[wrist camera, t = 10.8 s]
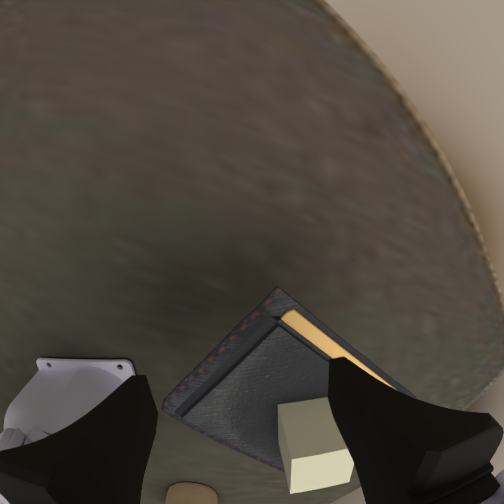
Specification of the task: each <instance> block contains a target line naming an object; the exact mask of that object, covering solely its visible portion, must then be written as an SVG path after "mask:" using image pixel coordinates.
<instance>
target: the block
mask: <svg viewBox="0 0 504 504" xmlns="http://www.w3.org/2000/svg"><path fill="white" fill-rule="evenodd" d="M278 442H279V447H280V451H281V456H282V460H283V465H284V469H285V473H286V478H287V482H288V486H289V491H290V494H292V493H298V492H304V491H309V490H315V489H320V488H325V487H329V486H334V485H338V484H342V483H346V482H349V480H350V477H351V473H352V469H353V466H354V462H353V460H352V457H351V455H350V453H349V451H348V449H347V446H346V444H345V442H344V440H343V438H342V436H341V434H340V431H339V429H338V427H337V425H336V423H335V420H334V418H333V415H332V412H331V408H330V405H329V401H328V397H325V398H319V399H313V400H306V401H300V402H293V403H285V404H278Z"/></svg>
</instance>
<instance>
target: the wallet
mask: <svg viewBox="0 0 504 504" xmlns="http://www.w3.org/2000/svg"><path fill="white" fill-rule="evenodd" d="M343 356H344V357H346V358H347V359H349V360H350V361H352V362H353V363H354V364H356V365H357V366H359V367H360V368H362V369H363V370H364V371H366V372H367V373H369V374H370V375H372V376H373V377H375V378H377V379H378V380H380V381H381V382H383V383H385V384H386V385H388V386H390V387H392V388H394V389H396V390H397V391H400V392H402V393H404V394H406V395H408V396H411V397H413V398H415V399H417V398H416V397H415V396H414V395H413V394H412V393H411V392H410V391H409V390H407V389H406V388H404V387H403V386H402V385H400V384H399V383H397V382H396V381H395V380H393V379H392V378H391V377H390V376H388V375H387V374H386V373H385V372H383V371H382V370H381V369H379V368H378V367H377V366H376V365H374V364H373V363H372V362H371V361H369V360H368V359H367V358H366V357H364V356H363V355H362V354H361V353H359V352H358V351H357V350H356V349H354V348H353V347H352V346H351V345H349V344H348V343H347V342H346V341H344V340H343V339H342V338H341V337H339V336H338V335H337V334H336V333H335V332H333V331H332V330H331V329H330V328H328V327H327V326H326V325H325V324H323V323H322V322H321V321H320V320H318V319H317V318H316V317H315V316H313V315H312V314H311V313H310V312H309V311H307V310H306V309H305V308H304V307H302V306H301V305H300V304H299V303H297V302H296V301H295V300H294V299H293V298H291V297H290V296H289V295H288V294H286V293H285V292H284V291H283V290H281V289H280V288H279V287H278V286H276V288H275V289H274V290H273V291H272V292H271V293H270V294H269V295H268V296H267V297H266V299H265V300H264V301H263V302H262V303H261V304H260V305H258V306H257V307H256V308H255V309H254V310H253V311H252V312H251V313H250V314H248V315H247V316H246V317H245V318H244V319H243V320H242V321H241V322H240V323H239V324H238V325H237V326H236V327H235V328H234V329H233V330H232V331H231V332H230V333H229V334H228V335H227V336H226V337H225V338H224V339H223V340H222V341H221V342H220V343H219V344H218V346H217V347H216V348H215V349H214V350H213V351H212V352H211V353H210V354H209V355H208V356H207V357H206V358H205V359H204V360H203V361H202V362H201V363H200V364H199V365H198V366H197V367H196V368H195V369H194V370H193V371H192V372H191V373H190V374H189V375H188V376H187V377H186V378H185V379H183V380H182V381H181V382H180V383H179V384H178V385H177V386H176V387H175V388H174V389H173V391H172V392H171V393H170V394H169V395H168V396H167V397H166V398H165V399H164V400H163V405H162V410H163V411H164V412H166V413H167V414H169V415H170V416H172V417H174V418H175V419H177V420H178V421H180V422H182V423H183V424H185V425H187V426H189V427H190V428H192V429H194V430H196V431H198V432H200V433H201V434H203V435H205V436H207V437H209V438H211V439H213V440H215V441H217V442H219V443H221V444H223V445H225V446H227V447H230V448H232V449H234V450H236V451H238V452H240V453H243V454H245V455H247V456H249V457H251V458H253V459H256V460H258V461H260V462H262V463H264V464H267V465H269V466H271V467H274V468H276V469H278V470H281V471H283V472H285V469H284V465H283V460H282V456H281V451H280V447H279V442H278V404H285V403H293V402H300V401H306V400H313V399H319V398H325V397H328V381H329V359H332V358H338V357H343Z"/></svg>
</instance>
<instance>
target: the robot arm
mask: <svg viewBox="0 0 504 504" xmlns="http://www.w3.org/2000/svg"><path fill="white" fill-rule="evenodd" d="M49 363H50V364H51V365H50V364H49ZM36 364H37V366H38V369H39V371H38V372H37V373H36V374H35V375H34V376H33V377H32V379H31V380H30V381H29V382H28V383H27V385H26V386H25V387H24V388H23V389H22V390H21V392H20V393H19V394H18V395H17V396H16V398H15V399H14V400H13V401H12V403H11V404H10V405H9V407H8V409H7V411H6V415H5V419H4V431H3V432H2V433H1V434H0V504H140V498H141V489H142V482H143V477H144V473H145V470H146V466H147V462H148V459H149V455H150V452H151V448H152V444H153V441H154V437H155V433H156V426H157V417H158V412H157V409H156V406H155V403H154V400H153V397H152V394H151V391H150V387H149V384H148V381H147V378H146V375H136V374H135V371H134V368H133V364H132V363H131V362H130V361H129V360H126V359H118V360H95V359H57V358H38V359H37V361H36ZM118 364H120V365H122V367H120V366H119V365H118ZM328 401H329V405H330V408H331V412H332V415H333V418H334V420H335V423H336V425H337V427H338V429H339V431H340V434H341V436H342V438H343V440H344V442H345V444H346V446H347V449H348V451H349V453H350V455H351V457H352V460H353V462H354V465H355V467H356V470H357V474H358V477H359V480H360V483H361V487H362V490H363V494H364V497H365V501H366V504H504V470H503V471H501V472H500V473H499V474H498V475H497V476H496V477H494V476H493V475H492V474H491V472H492V471H493V469H494V468H493V466H492V465H491V463H490V460H491V458H492V457H493V455H494V453H495V452H496V450H497V448H498V446H499V444H500V442H501V440H502V436H503V428H502V427H501V426H500V425H499V423H498V422H497V421H496V420H495V419H494V418H493V417H492V416H491V415H490V414H489V413H477V412H466V411H459V410H454V409H448V408H444V407H440V406H436V405H433V404H430V403H426V402H423V401H421V400H418V399H415V398H413V397H411V396H408V395H406V394H404V393H402V392H400V391H397V390H396V389H394V388H392V387H390V386H388V385H386V384H385V383H383V382H381V381H380V380H378V379H377V378H375V377H373V376H372V375H370V374H369V373H367V372H366V371H364V370H363V369H362V368H360V367H359V366H357V365H356V364H354V363H353V362H352V361H350V360H349V359H347V358H346V357H344V356H343V357H338V358H332V359H329V381H328Z"/></svg>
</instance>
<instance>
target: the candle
mask: <svg viewBox="0 0 504 504" xmlns="http://www.w3.org/2000/svg"><path fill="white" fill-rule="evenodd" d="M166 504H217V494H216V492H215V491H214V490H213V489H211V488H210V487H208V486H205V485H202V484H199V483H192V482H181V483H176V484H174V485H172V486H170V487H169V489H168V492H167V497H166Z"/></svg>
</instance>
